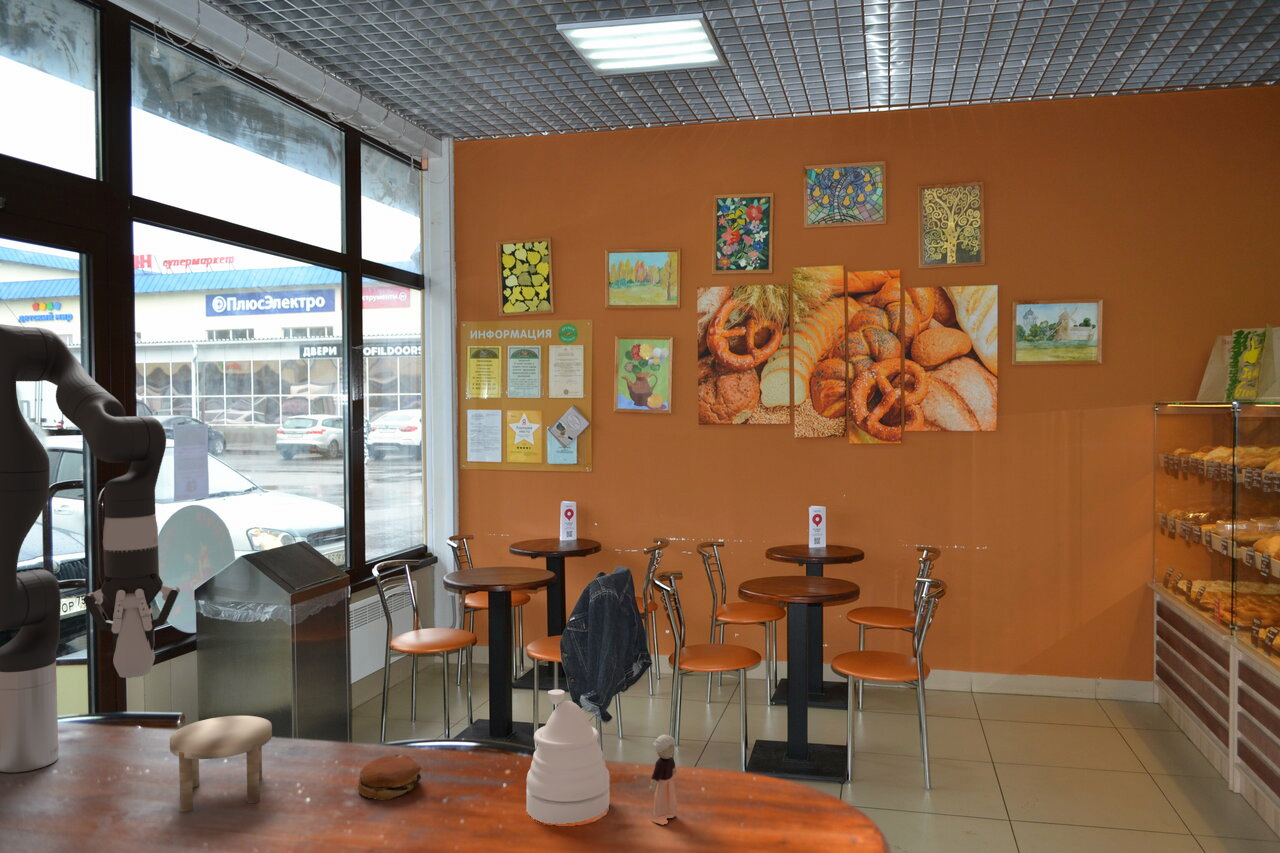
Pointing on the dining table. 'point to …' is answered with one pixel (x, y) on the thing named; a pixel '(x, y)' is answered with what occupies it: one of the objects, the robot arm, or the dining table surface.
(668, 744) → the grandmother figurine
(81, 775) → the dining table surface
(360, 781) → the burger
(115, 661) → the salt shaker
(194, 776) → the stool
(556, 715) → the honey pot
